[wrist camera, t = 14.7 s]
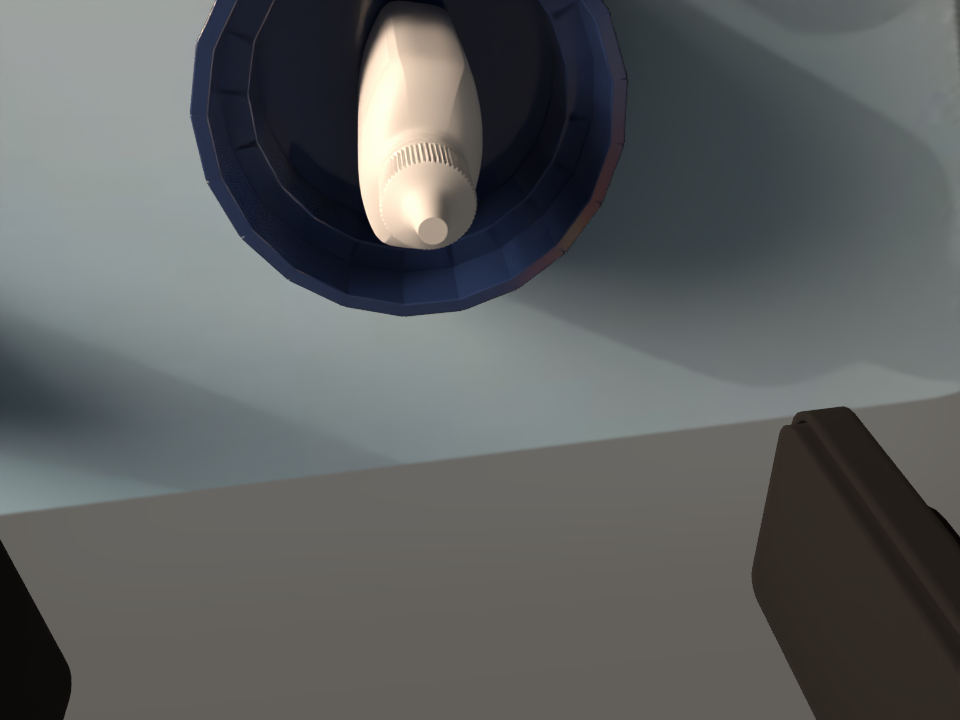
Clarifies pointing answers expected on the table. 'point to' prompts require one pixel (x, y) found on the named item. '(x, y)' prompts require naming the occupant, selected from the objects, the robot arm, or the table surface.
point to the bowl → (334, 143)
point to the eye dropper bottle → (417, 128)
